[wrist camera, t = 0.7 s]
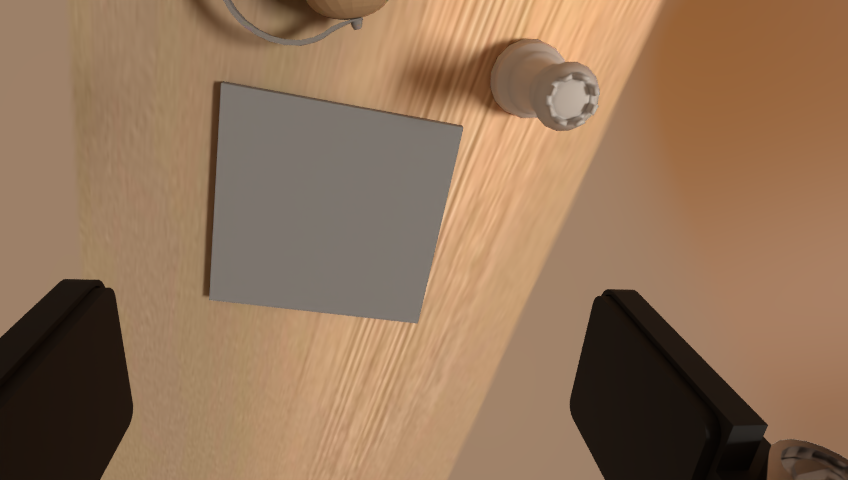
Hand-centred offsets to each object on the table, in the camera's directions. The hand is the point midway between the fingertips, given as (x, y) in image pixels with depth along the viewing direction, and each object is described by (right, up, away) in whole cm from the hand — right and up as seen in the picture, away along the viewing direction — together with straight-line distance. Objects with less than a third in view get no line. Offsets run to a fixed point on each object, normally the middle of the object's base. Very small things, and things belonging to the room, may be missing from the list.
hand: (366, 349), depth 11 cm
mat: (-5, +4, +24) cm, 24 cm away
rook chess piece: (+7, +12, +22) cm, 26 cm away
